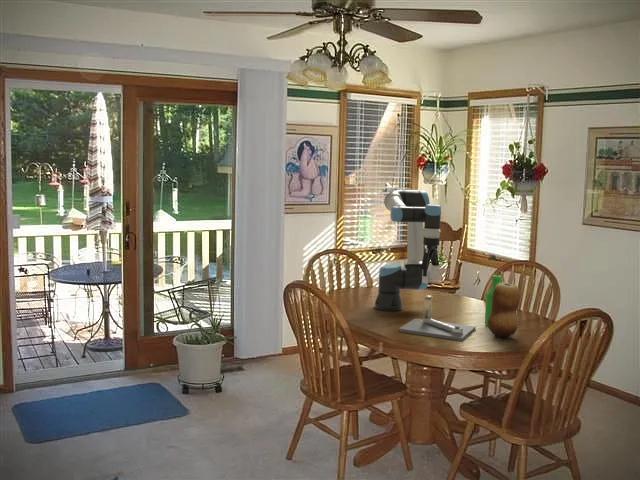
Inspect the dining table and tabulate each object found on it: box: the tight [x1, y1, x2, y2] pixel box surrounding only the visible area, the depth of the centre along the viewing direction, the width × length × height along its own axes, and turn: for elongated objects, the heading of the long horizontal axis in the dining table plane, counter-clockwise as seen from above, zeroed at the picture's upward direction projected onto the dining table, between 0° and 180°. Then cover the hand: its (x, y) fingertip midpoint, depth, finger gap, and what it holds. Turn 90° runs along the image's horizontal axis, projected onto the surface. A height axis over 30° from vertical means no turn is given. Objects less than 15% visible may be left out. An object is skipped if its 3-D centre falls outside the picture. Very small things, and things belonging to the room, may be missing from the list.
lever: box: [422, 294, 463, 334], centre depth 320 cm, size 27×5×13 cm, turn 29°
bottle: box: [484, 274, 502, 327], centre depth 334 cm, size 9×9×25 cm
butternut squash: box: [487, 282, 521, 339], centre depth 313 cm, size 14×13×25 cm
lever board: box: [398, 318, 476, 342], centre depth 322 cm, size 30×24×2 cm
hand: (429, 281), depth 328 cm, fingers open, 13 cm apart
